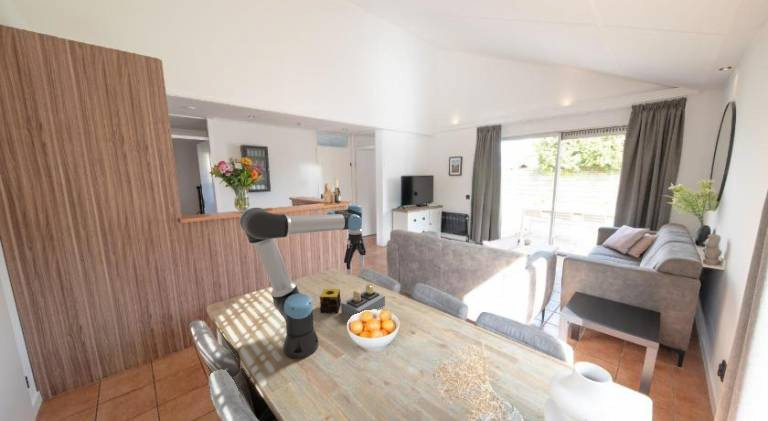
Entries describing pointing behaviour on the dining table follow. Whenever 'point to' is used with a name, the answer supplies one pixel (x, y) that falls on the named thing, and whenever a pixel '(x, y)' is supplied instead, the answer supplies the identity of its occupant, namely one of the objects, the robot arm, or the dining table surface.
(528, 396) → the dining table surface
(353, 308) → the socket block
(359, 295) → the beech peg
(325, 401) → the dining table surface
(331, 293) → the candle
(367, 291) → the brass peg
